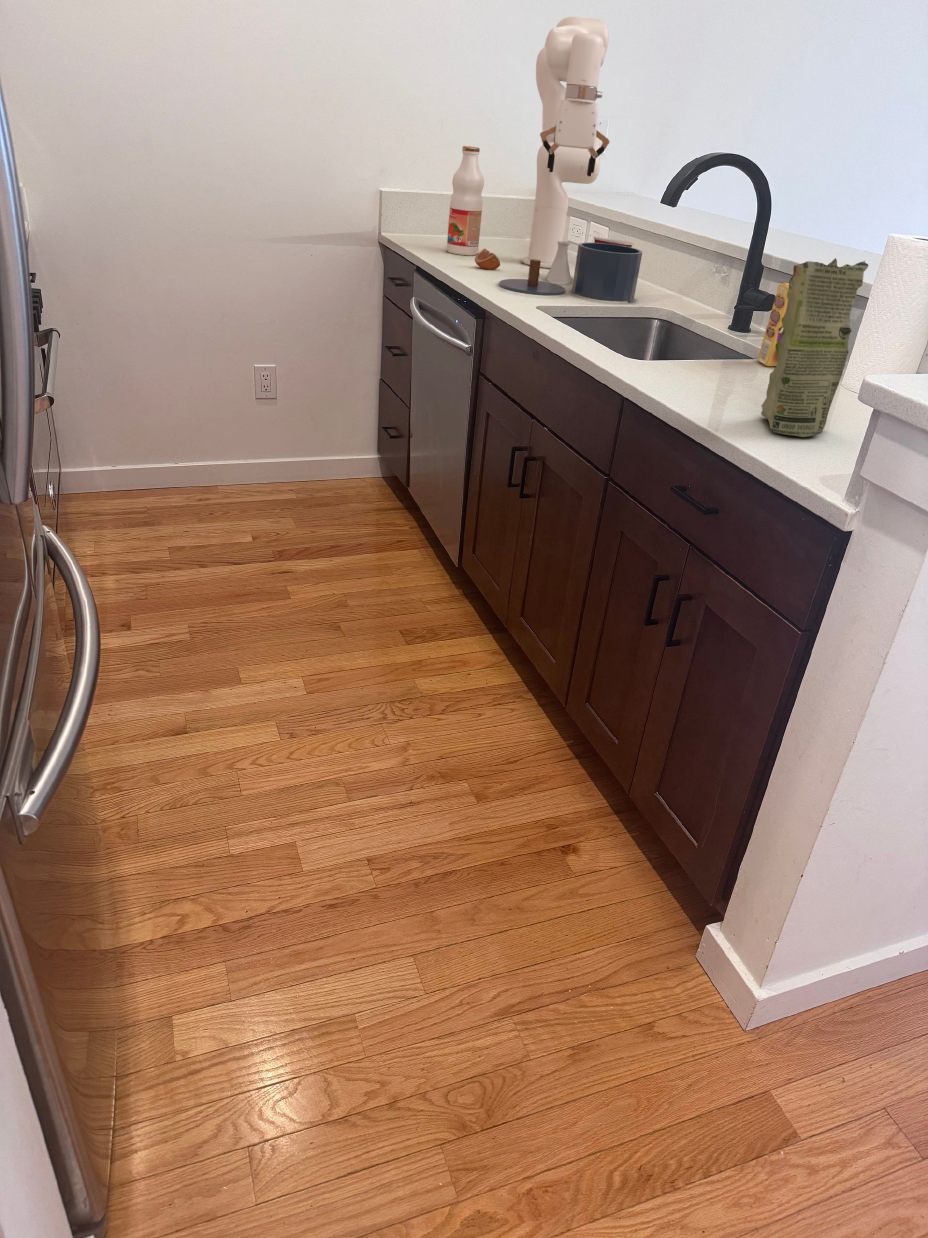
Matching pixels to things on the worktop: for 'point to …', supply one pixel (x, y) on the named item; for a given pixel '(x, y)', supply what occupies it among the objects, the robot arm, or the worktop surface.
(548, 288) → the lid
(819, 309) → the pouch
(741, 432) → the worktop surface
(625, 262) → the pot
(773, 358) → the candy box
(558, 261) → the flask
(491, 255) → the fruit slice
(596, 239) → the plastic cup
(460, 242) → the fruit juice
